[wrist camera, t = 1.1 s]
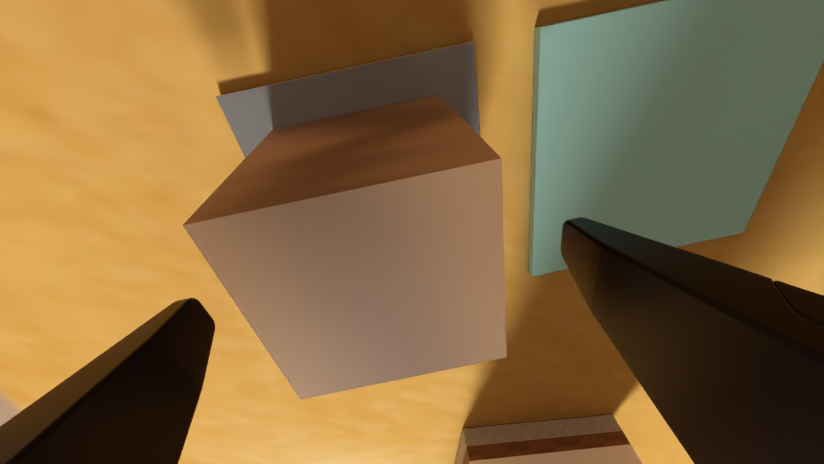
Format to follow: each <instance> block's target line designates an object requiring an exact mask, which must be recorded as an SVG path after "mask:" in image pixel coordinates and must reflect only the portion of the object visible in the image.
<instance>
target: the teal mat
mask: <svg viewBox="0 0 824 464" xmlns="http://www.w3.org/2000/svg"><path fill="white" fill-rule="evenodd" d="M823 62H824V0H662V1H657V2H653V3H648V4H643V5H639V6H634V7H629V8H625V9H620V10H615V11H611V12H606V13H601V14H596V15H592V16H587V17H582V18H578V19H573V20H568V21H564V22H559V23H554V24H550V25H545V26H540V27H536V28H535V47H534V85H533V122H532V159H531V196H530V233H529V270H528V271H529V273H530V274H531V276H532V277H533V276H538V275H543V274H548V273H552V272H557V271H562V270H567V269H568V267H567V265H566V263H565V261H564V259H563V257H562V254H561V249H560V248H561V236H562V226H563V223H564V222H565V221H566V220H568V219H573V218H578V217H585V218H588V219H591V220H594V221H597V222H600V223H603V224H606V225H609V226H612V227H615V228H618V229H621V230H624V231H627V232H630V233H633V234H636V235H639V236H642V237H645V238H649V239H652V240H655V241H658V242H661V243H664V244H667V245H670V246H673V247H678V246H683V245H688V244H693V243H698V242H703V241H707V240H712V239H717V238H722V237H727V236H732V235H736V234H741V233H744V231H745V229H746V227H747V225H748V222H749V220H750V218H751V216H752V214H753V212H754V210H755V207H756V205H757V203H758V201H759V199H760V197H761V195H762V193H763V190H764V188H765V186H766V184H767V182H768V180H769V178H770V175H771V173H772V171H773V169H774V167H775V165H776V163H777V160H778V158H779V156H780V154H781V152H782V150H783V148H784V145H785V143H786V141H787V139H788V137H789V135H790V133H791V130H792V128H793V126H794V124H795V122H796V120H797V118H798V115H799V113H800V111H801V109H802V107H803V105H804V103H805V101H806V98H807V96H808V94H809V92H810V90H811V88H812V86H813V83H814V81H815V79H816V77H817V75H818V73H819V71H820V68H821V66H822V64H823Z"/></svg>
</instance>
